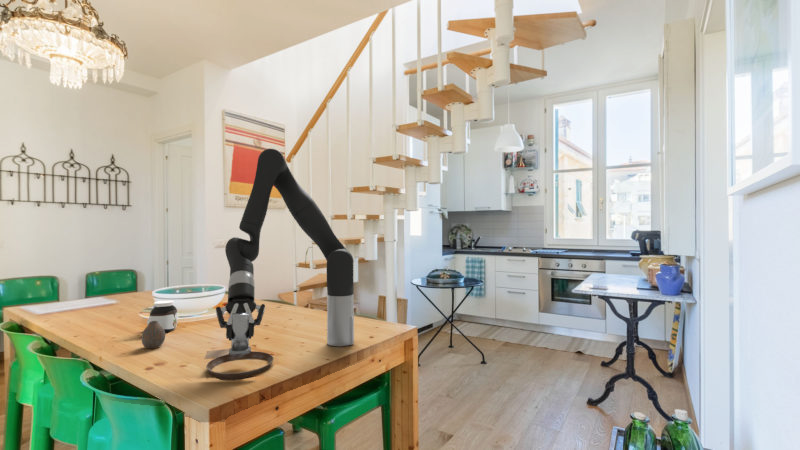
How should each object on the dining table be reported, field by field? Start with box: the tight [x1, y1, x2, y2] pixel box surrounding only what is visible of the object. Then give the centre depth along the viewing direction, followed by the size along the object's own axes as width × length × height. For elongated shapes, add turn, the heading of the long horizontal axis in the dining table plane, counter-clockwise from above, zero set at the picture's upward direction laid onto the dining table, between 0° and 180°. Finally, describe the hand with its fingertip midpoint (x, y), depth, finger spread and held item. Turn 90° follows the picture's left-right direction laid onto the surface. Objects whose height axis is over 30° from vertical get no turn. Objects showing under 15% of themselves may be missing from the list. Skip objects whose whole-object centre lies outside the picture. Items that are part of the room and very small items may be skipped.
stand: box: [204, 348, 230, 360], centre depth 122 cm, size 8×8×1 cm
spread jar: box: [146, 300, 178, 334], centre depth 154 cm, size 12×11×12 cm
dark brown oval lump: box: [140, 321, 166, 350], centre depth 132 cm, size 7×7×9 cm
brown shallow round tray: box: [206, 350, 274, 381], centre depth 109 cm, size 18×18×3 cm
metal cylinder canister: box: [228, 312, 252, 356], centre depth 109 cm, size 6×6×11 cm
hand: (240, 337), depth 108 cm, fingers closed on metal cylinder canister, 4 cm apart
